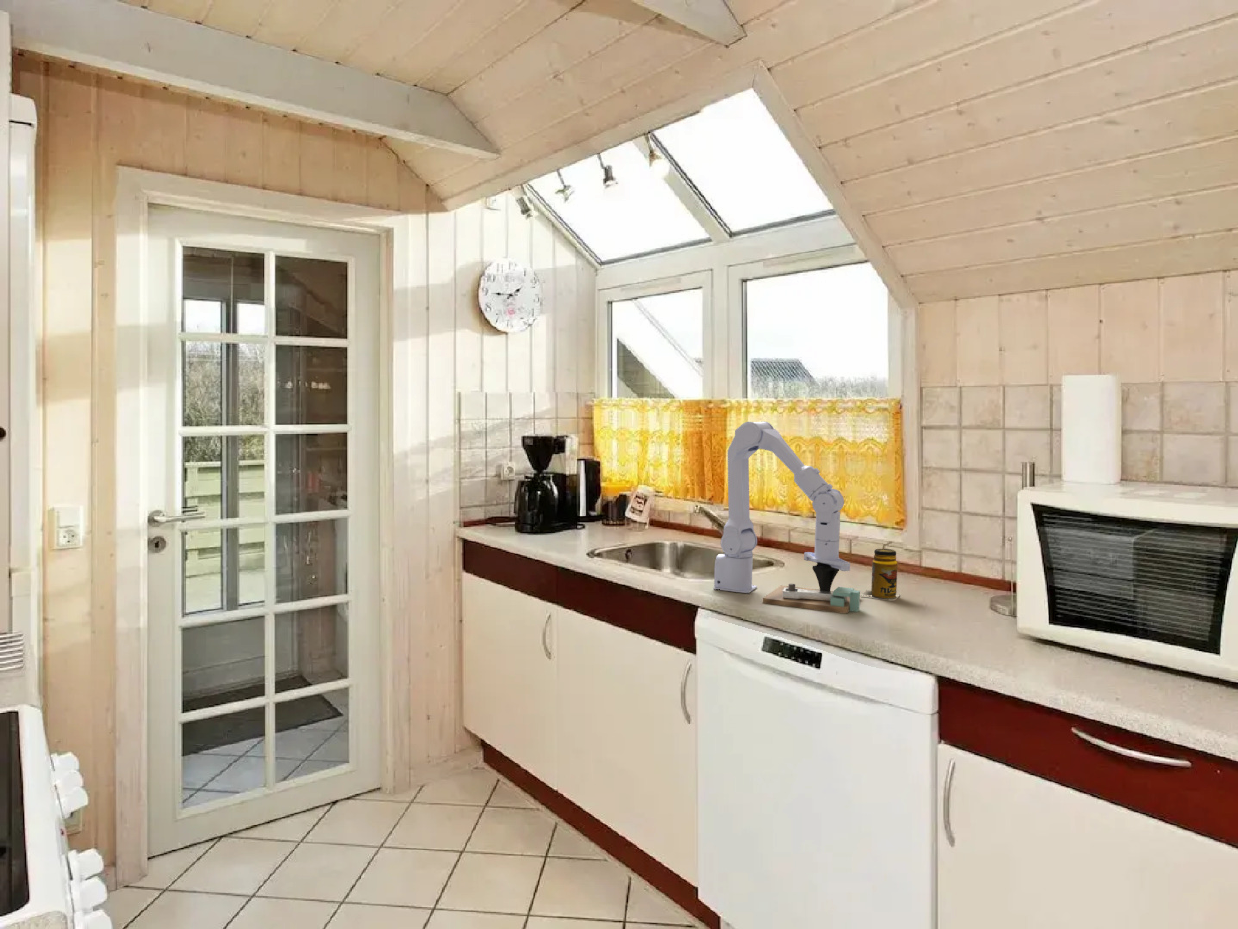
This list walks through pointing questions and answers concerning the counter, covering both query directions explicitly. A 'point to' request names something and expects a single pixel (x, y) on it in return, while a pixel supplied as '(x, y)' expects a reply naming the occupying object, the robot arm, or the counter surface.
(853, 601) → the keeper
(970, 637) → the counter surface
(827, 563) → the robot arm
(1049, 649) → the counter surface
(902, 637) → the counter surface
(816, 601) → the board
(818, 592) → the link
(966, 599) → the counter surface
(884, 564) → the condiment
